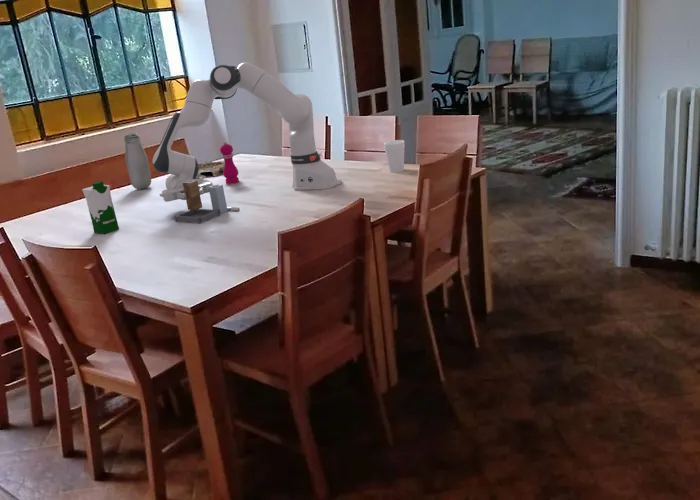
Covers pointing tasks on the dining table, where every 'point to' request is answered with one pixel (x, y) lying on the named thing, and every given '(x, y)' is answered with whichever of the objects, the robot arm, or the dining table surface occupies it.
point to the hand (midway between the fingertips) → (193, 194)
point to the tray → (197, 216)
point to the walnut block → (192, 195)
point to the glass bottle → (137, 162)
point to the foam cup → (395, 155)
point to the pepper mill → (229, 164)
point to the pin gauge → (232, 209)
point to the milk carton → (101, 208)
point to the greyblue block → (218, 198)
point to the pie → (211, 168)
